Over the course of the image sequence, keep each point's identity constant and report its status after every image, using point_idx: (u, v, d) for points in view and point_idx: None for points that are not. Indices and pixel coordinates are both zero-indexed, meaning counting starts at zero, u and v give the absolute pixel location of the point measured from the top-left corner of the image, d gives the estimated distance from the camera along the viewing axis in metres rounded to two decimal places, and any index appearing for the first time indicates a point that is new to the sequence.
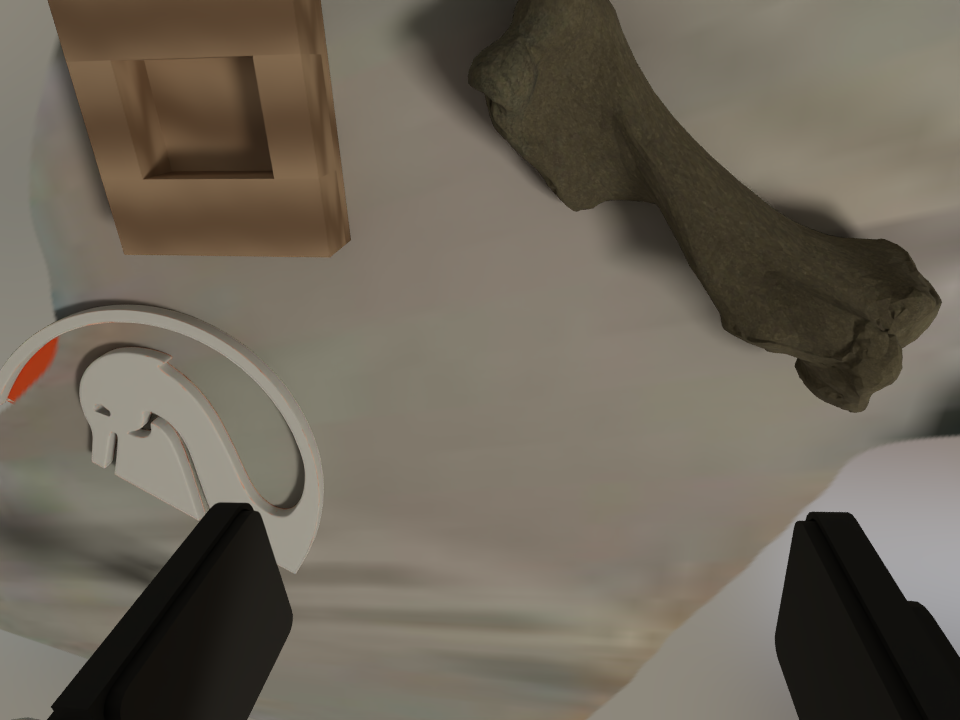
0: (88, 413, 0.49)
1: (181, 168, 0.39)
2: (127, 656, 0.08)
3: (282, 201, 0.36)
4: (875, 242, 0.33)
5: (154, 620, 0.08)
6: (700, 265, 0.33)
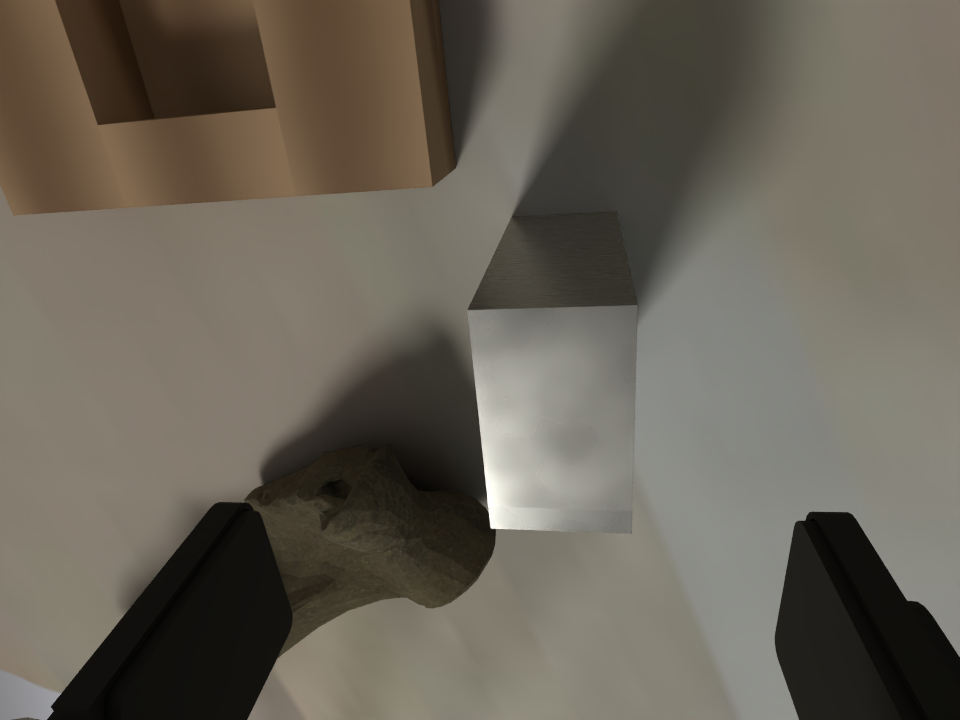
0: None
1: None
2: (128, 655, 0.08)
3: (67, 137, 0.20)
4: None
5: (154, 620, 0.08)
6: None
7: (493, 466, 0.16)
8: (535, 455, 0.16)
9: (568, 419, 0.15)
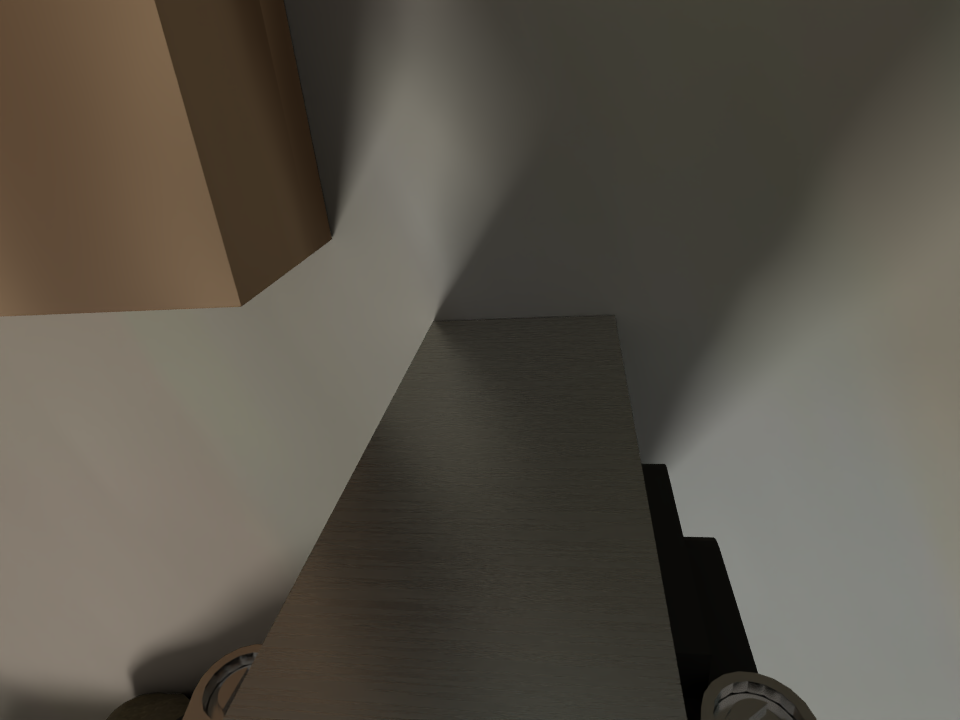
0: None
1: None
2: None
3: None
4: None
5: None
6: None
7: None
8: None
9: None
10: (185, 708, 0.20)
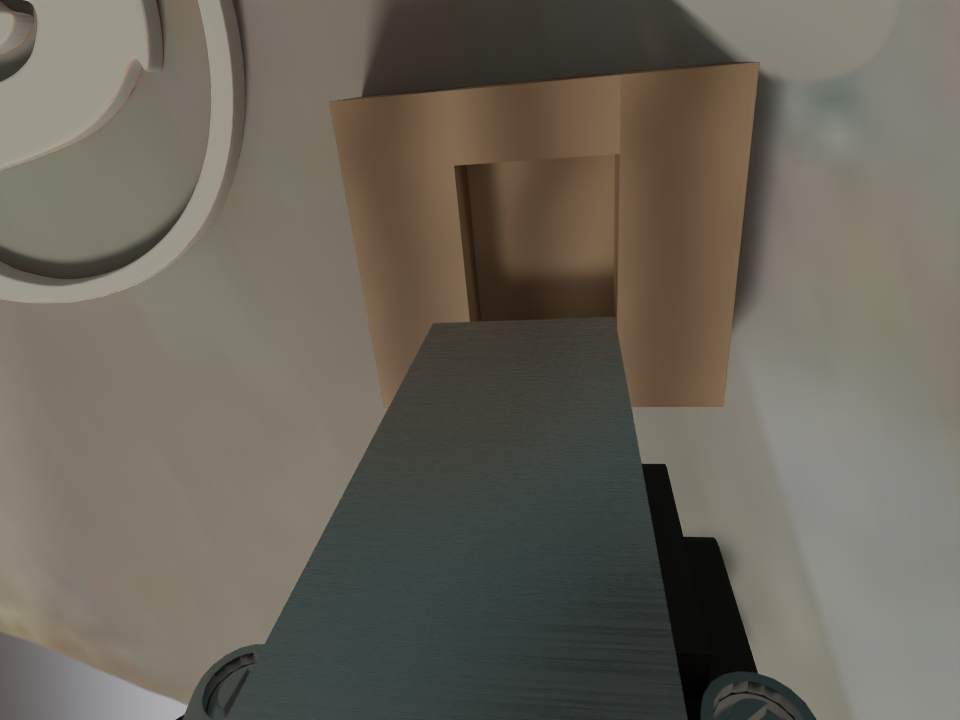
0: None
1: (471, 172, 0.27)
2: None
3: None
4: None
5: None
6: None
7: None
8: None
9: None
10: None
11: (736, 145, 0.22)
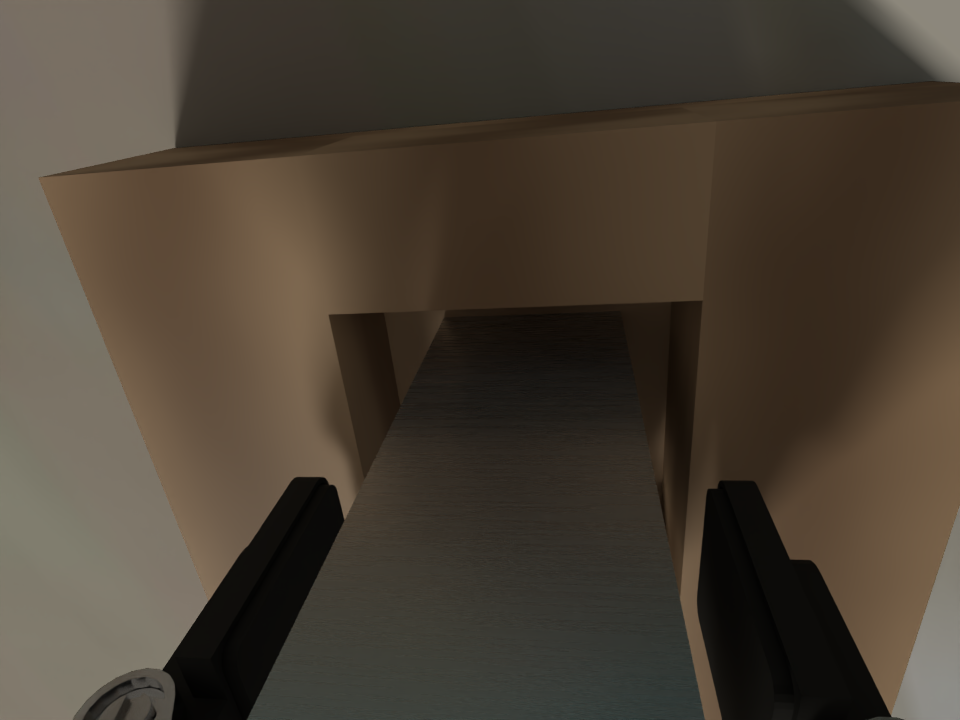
0: None
1: None
2: (239, 612, 0.08)
3: None
4: None
5: (256, 581, 0.09)
6: None
7: None
8: None
9: None
10: None
11: None
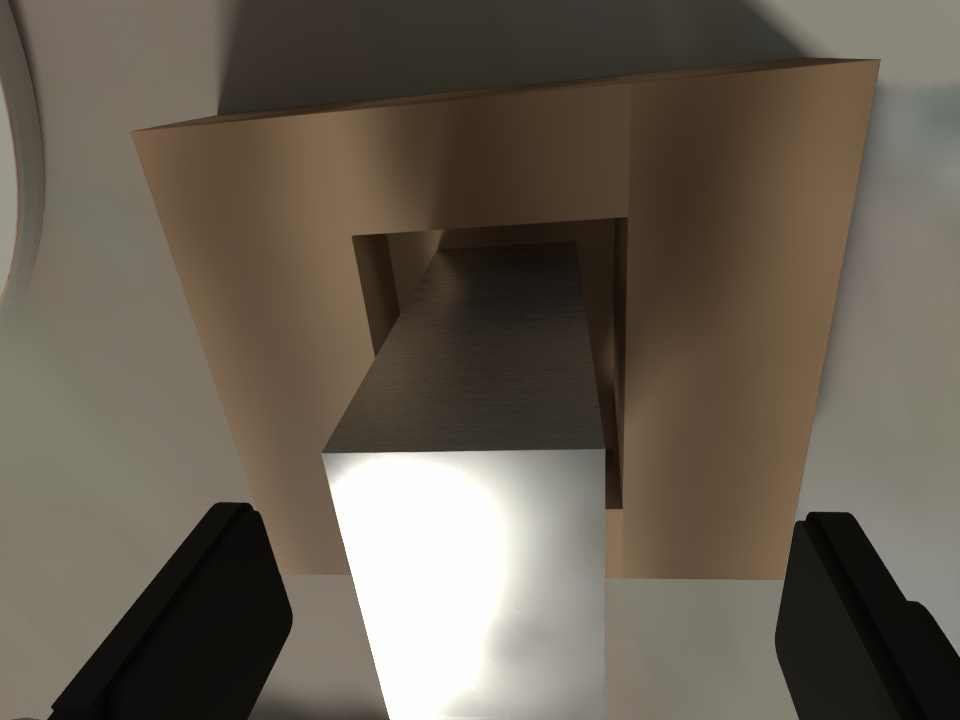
0: None
1: None
2: (127, 655, 0.08)
3: None
4: None
5: (154, 620, 0.08)
6: None
7: (390, 665, 0.11)
8: (453, 652, 0.10)
9: (499, 607, 0.10)
10: None
11: (828, 203, 0.13)
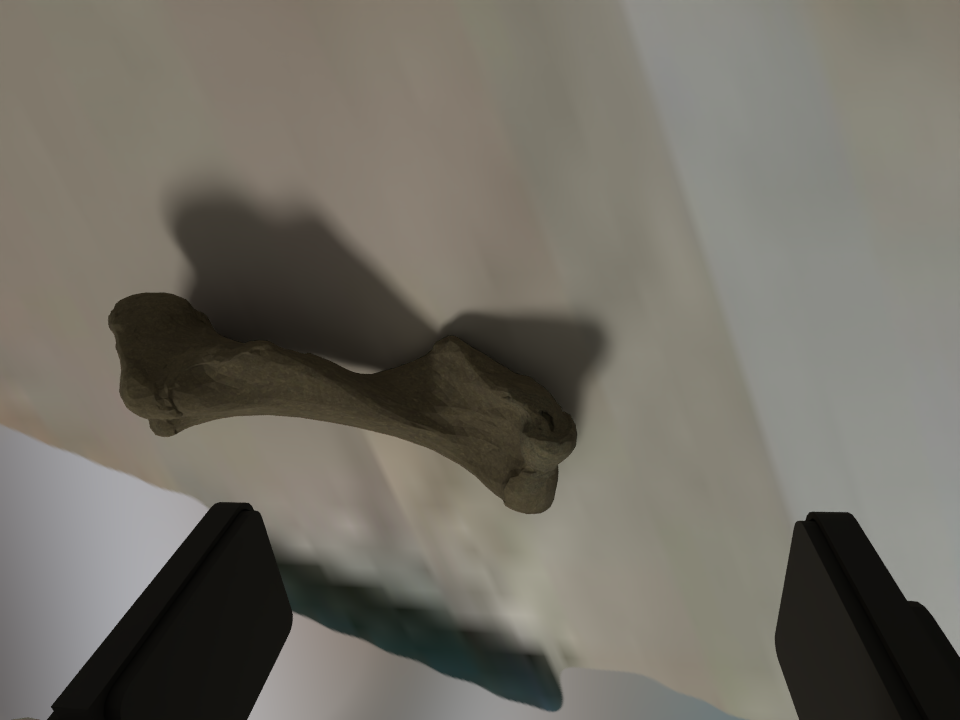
0: None
1: None
2: (127, 656, 0.08)
3: None
4: None
5: (154, 620, 0.08)
6: (321, 378, 0.36)
7: None
8: None
9: None
10: (495, 361, 0.39)
11: None
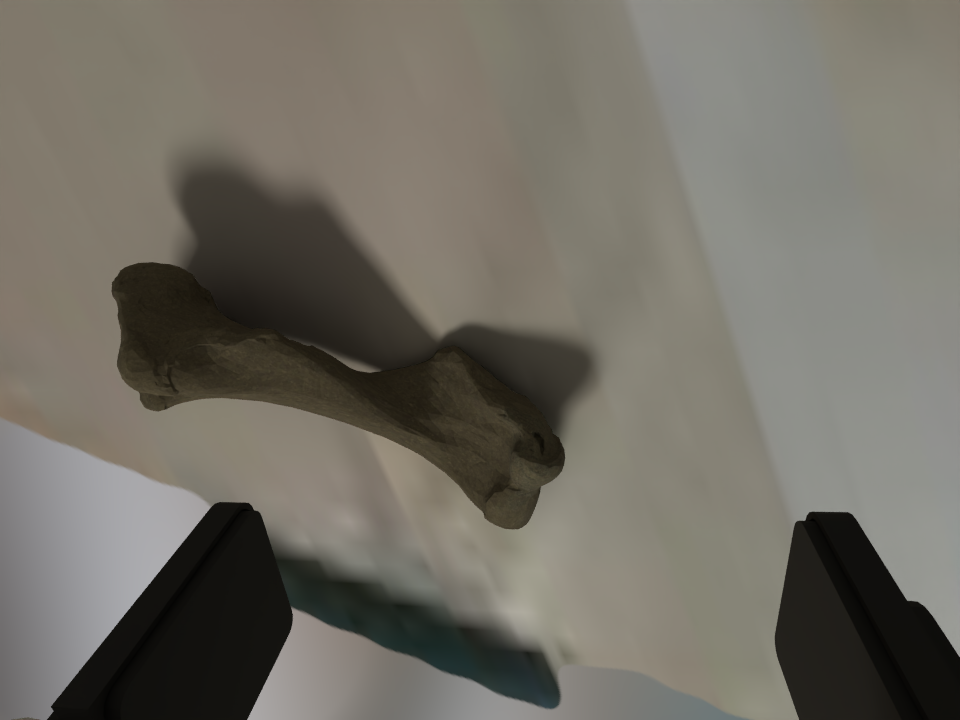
0: None
1: None
2: (128, 655, 0.08)
3: None
4: None
5: (154, 620, 0.08)
6: (323, 373, 0.36)
7: None
8: None
9: None
10: (494, 377, 0.40)
11: None
